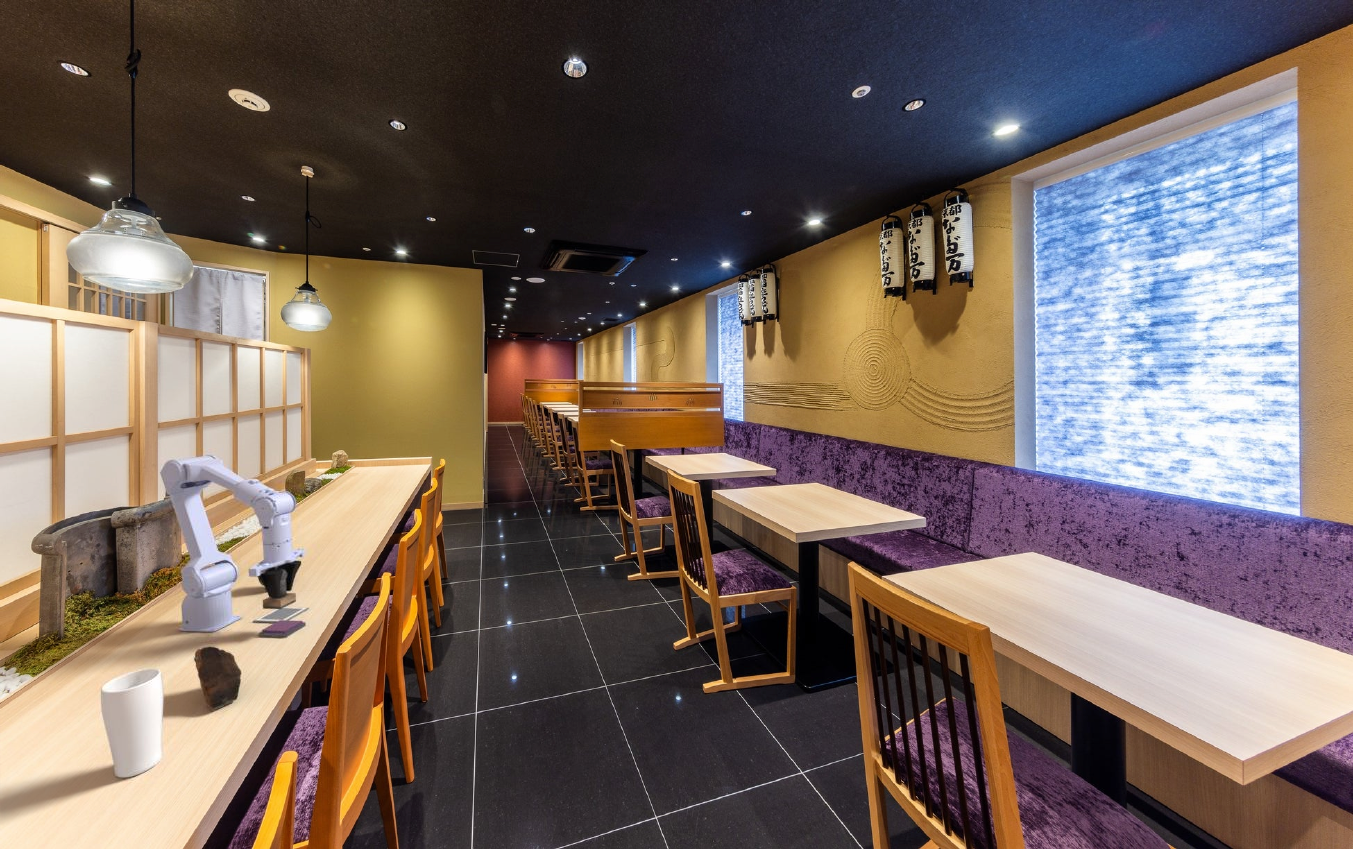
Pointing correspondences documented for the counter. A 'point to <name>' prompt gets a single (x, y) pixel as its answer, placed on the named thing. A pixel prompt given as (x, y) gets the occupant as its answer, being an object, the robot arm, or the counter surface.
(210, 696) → the decorative rock
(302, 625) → the ink pad
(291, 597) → the wooden stamp
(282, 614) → the stamping board
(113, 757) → the white tumbler
